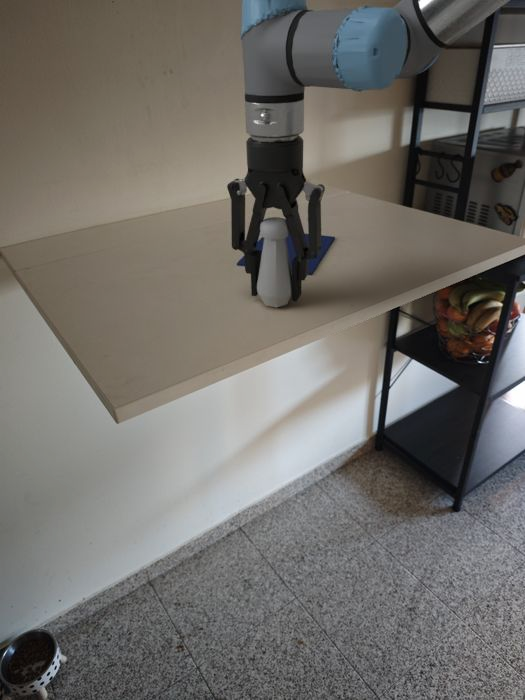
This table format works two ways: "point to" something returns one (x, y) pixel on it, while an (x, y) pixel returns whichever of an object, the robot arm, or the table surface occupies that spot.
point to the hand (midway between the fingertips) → (276, 294)
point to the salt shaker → (274, 263)
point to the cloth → (312, 263)
